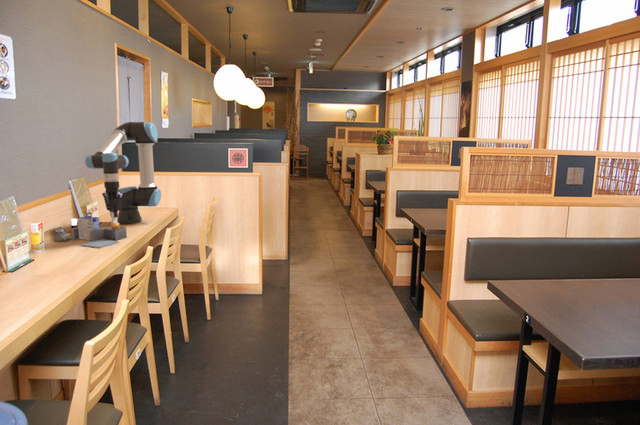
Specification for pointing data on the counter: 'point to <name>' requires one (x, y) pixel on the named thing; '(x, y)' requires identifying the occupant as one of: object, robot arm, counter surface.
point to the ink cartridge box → (87, 226)
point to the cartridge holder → (94, 234)
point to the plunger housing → (115, 233)
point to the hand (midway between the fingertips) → (114, 222)
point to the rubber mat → (100, 243)
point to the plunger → (114, 225)
